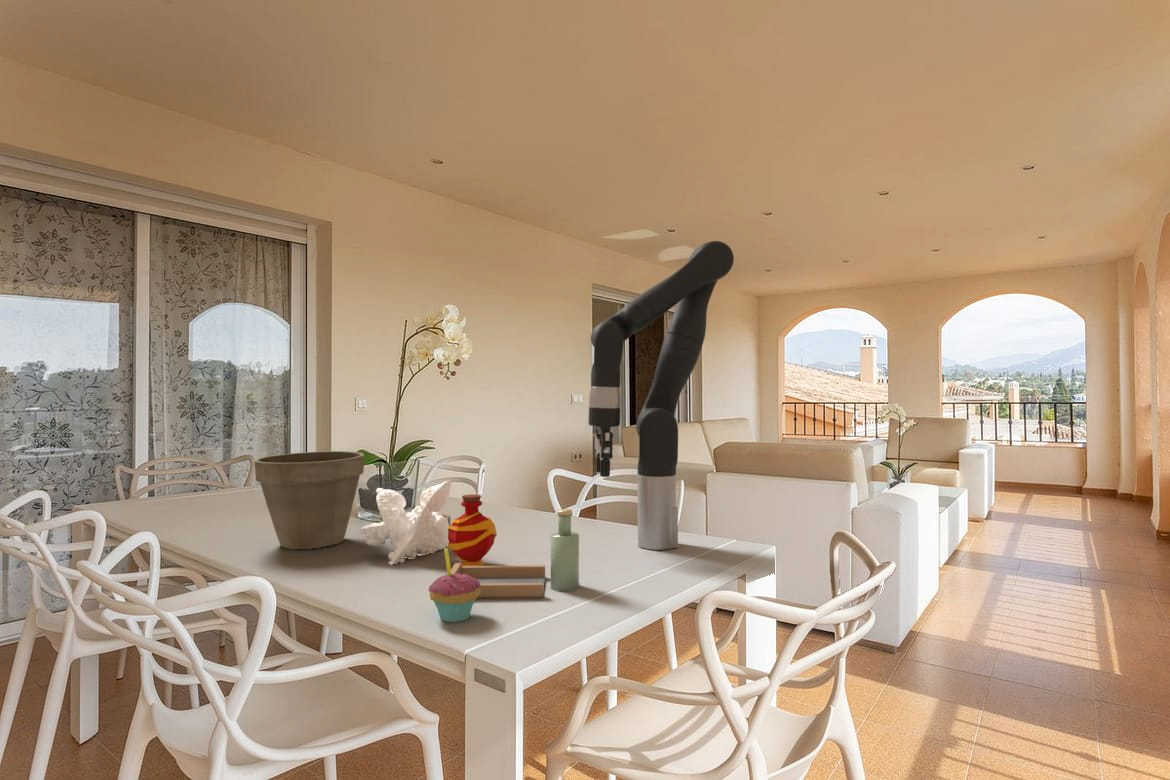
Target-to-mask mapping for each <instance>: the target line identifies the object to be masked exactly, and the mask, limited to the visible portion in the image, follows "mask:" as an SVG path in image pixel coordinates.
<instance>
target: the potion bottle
mask: <svg viewBox="0 0 1170 780" xmlns="http://www.w3.org/2000/svg"><path fill="white" fill-rule="evenodd" d="M461 497H462V502H461V503H460V506H461V507H464V513H463V514H461V515H460V516H459V517H457V518H454V519H453V520H452V522H451V523H450V526H449V527H448V543H447V548H448V550H450V551H451V550H452V551H453V553H454V555H455V556H456V557H457V559H460V560H461V562H460V563H461V566H483V565H484V566H485V563H484V562H483V561H482V559H483V558H484V557H485V556H486V555H487V554H488V553H489V551H491V549H492V547H493V546H494V543H495V538H496V537H497V535H498V534H497V529H496V525H495V523H494V522H493V520H492V519H491V517H487V516H485V515H483V513H482V512H480V511H479V507H480V506H482V504H483V501H482V500H481V499H482V495H481V494H478V493H477V494H476V493H474V494H473V493H469V494H463V495H462V496H461Z"/></svg>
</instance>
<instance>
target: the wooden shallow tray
mask: <svg viewBox="0 0 1170 780" xmlns="http://www.w3.org/2000/svg"><path fill="white" fill-rule="evenodd" d="M461 563H462V562H455V563H454V564H453V566H451V567H452V568H451V573H452V574H461V573H462V574H467V575H469V576H472V577H473V578H475V579H477V580H478V581H479V582H480V584H481V589H482V592H481V594H480V595H479V596H478V597H477V598H476V599H475V600H480V599H481V600H488V599H490V600H493V599H502V600H503V599H506V600H507V599H543V596H544V589H545V584H546V583H545V581H546V564H541V565H539V564H537V565H536V564H534V565H533V564H532V565H531V564H530V565H529V564H528V565H525V564H524V565H484V566H461Z"/></svg>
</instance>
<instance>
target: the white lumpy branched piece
mask: <svg viewBox="0 0 1170 780" xmlns="http://www.w3.org/2000/svg"><path fill="white" fill-rule="evenodd" d="M451 488H452V481H451V480H446V481H443V482H442V483H439V484H436V485H433V486H430V487H427V489H425V490H423V491H422V492H421V495H420V497H419V504H420V505H417V506H415V508H413V509H412V510H411V512H410V511H408V512H405V509H404V508H405V507H406V505H407V501H406V499H405V497H404V495H402V494H401V493H399V492H398V491H396V490H392V489H389V488H387V489H385V488H382V487H378V488H376V489H375V492H376V494H377V495H376V497H375V500H376V501H375V502H376V504H377V509H378V510H379V514H380V515H381V517H382V520H383V521H384V522H381V523H380V522H373V523H371V524H366V525H364V526H362V527H361V528H360V529H359V530H360V533H361V537H362V538H363V541H364V542H365V543H366V544H367V545H368V546H371V547H373V546H374V547H382V546H384V545H385V544H386V540H389V539H390V540H389V544H390V545H391V546H392V548H393V551H390V552H389V553H388V559H389V561H388V563H389V564H395V563H397V562H403V561H405V562H406V559H408V558H414V559H416V558H417V556H416V555H417V554H421V555H422V554H423V555H424V554H427V553H432V554H435V553H436V552H439V551H438V550H441V551H443V550H442V549H445V545H444V544H446V547H448V543H449V540H448V527H449V524H448V520H447V519H446V518H445V517H444V516H440V515H441V514H442V513H441V510H442V509H443V508H444V507H445V505H446V504H447V501H448V498H449V496H450V492H451V491H450V489H451ZM435 551H436V552H435ZM427 555H428V554H427ZM404 557H407V558H405V559H404ZM403 563H404V562H403ZM389 564H388V565H389ZM397 564H398V563H397Z"/></svg>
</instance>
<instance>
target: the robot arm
mask: <svg viewBox="0 0 1170 780" xmlns="http://www.w3.org/2000/svg"><path fill="white" fill-rule="evenodd" d="M734 259H735V257H734V253H733V250H732V248H731V247H730V246H729V245H728V243H727V244H726V243H725V242H723V241H719V240H712V241H708V242H705V243H704V244H702V245H700V246H698V247H697V248H695V249H694V250H693V251H692V253H691V254H690V256H689V258H688V261H687V262H686V263H685V264H684V265H682V267H680V268H679V269H677V270H676V271H675V272H674V273H673V274H671V275H670V276H668V277H666V278H664V279H663V280H661V281H660V282H658V283H657V284H655V285H653V286H652V287H650V288H648V289H647V290H645V291H644V292H642V293H641V294H639V295H638V296H637V297H636V298H634V299H632V300H631V301H629V302H628V303H627V304H626V305H625V306H624V307H622V308H621V309H620V311H618V312H616V313H615V314H613V315H612V316H610V317H608V318H607V319H605V320H603V322H601V323H598V325H596V326H594V328H593V330H592V332H591V334H590V343H591V345H592V346H593V363H592V365H591V371H590V390H589V397H588V399H589V400H588V425H589V426H591V427H597V428H596V429H595V433H594V452H595V456H596V461H595V462H596V463H595V465H596V466H595V469H596V470H595V471H596V472H597V473H599V476H600V477H602V478H605V477H606V478H608V477H610V476H611V461H612V459H613V457H614V455H613V449H614V448H613V441H614V433H613V432H611V428H617V427H620V426H621V406H622V401H621V400H622V396H621V394H622V393H621V388H620V387H621V363H622V356H623V351H624V342H625V341H627V340H628V339H629V338H630V337H632V336H633V335H634V334H636V333H637V332H640V331H642V330H644V329H645V328H647V327H648V326H649V325H651V324H652V323H653V322H655V321H656V320H658V319H659V318H660V317H662V315H664V314H666V313H667V312H668V311H669V310H670V309H672V308H674V306H675V309H674V311H673V315H672V316H671V319H670V323H669V326H668V328H667V329H666V330H667V331H666V333H665V336H664V340H663V343H662V345H661V349H660V353H659V357H658V360H657V362H656V363H657V364H656V368H655V371H654V375H653V376H654V377H653V382H652V383H651V384H652V385H651V387H650V391H649V393H648V395H647V397H646V398H645V399H646V400H645V402H644V403H643V407H642V408H641V410H640V412H639V415H638V416H637V417H638V418H637V419H636V423H635V429H636V433H637V435H638V440H639V441H638V442H639V443H638V444H639V445H638V450H639V452H638V460H637V461H638V462H637V545H638V547H639V548H643V549H647V550H653V551H654V550H656V551H657V550H658V551H659V550H660V551H661V550H670V549H678V548H679V508H678V507H677V465H678V457H679V426H678V425H679V424H678V421H677V418H676V417H675V413H676V408H677V406H678V401H679V398H680V396H681V393H682V391H683V388H684V387H685V385H686V383H687V382H688V379H690V377H691V375H692V372H693V371H694V368H695V367H696V365H697V362H698V360H699V357H700V354H701V351H702V347H703V344H704V341H705V337H706V331H707V330H706V329H707V313H708V306H709V302H710V299H711V296H712V294H713V291H714V289H715V286H716V285H717V283H718V281H719V280H720V279H723V278H725V276H726V275H728V274H729V272H730V271H731V269H732V267H733V265H734V262H735V260H734Z"/></svg>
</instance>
